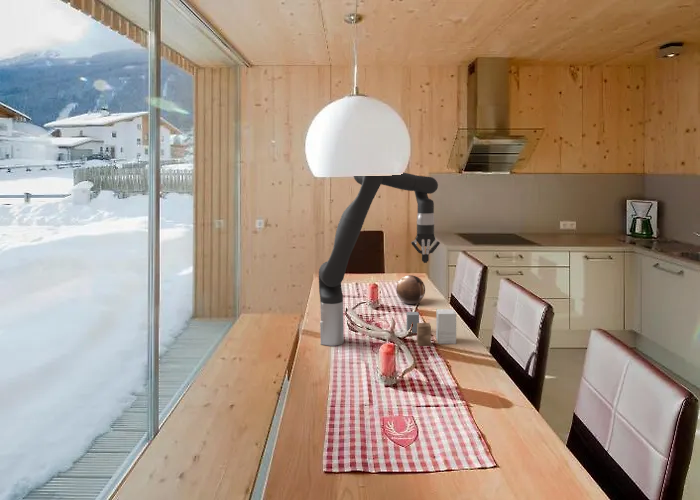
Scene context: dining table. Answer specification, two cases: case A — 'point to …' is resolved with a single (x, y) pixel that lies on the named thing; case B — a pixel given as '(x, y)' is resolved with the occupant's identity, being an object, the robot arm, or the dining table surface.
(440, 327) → the supplement box
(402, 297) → the wooden sphere
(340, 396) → the dining table surface
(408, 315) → the grey block
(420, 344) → the walnut block
